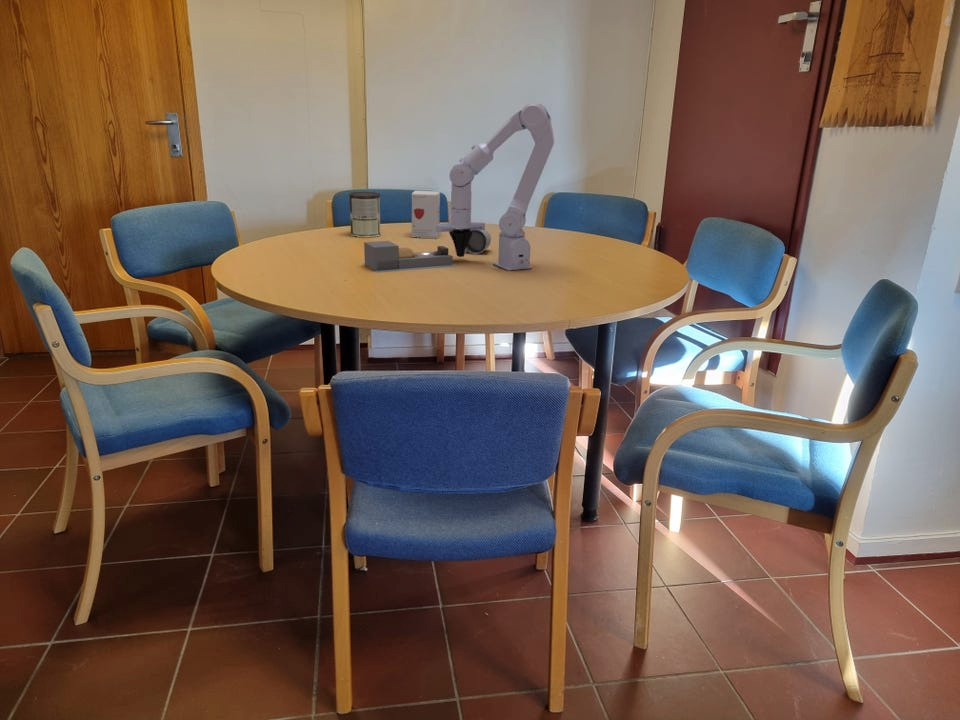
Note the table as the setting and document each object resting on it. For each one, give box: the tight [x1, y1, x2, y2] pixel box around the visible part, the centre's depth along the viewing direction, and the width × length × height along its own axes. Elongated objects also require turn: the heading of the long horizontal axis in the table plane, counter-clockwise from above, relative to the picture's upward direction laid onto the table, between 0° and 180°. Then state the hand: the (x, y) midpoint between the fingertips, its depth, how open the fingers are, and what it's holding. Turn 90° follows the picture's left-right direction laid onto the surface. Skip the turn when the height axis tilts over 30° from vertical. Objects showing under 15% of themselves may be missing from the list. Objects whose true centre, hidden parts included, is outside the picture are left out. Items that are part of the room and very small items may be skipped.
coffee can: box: [348, 191, 381, 238], centre depth 237 cm, size 10×10×14 cm
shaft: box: [413, 245, 449, 258], centre depth 196 cm, size 4×10×4 cm, turn 117°
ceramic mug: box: [465, 229, 492, 255], centre depth 216 cm, size 11×8×8 cm
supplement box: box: [411, 190, 441, 239], centre depth 239 cm, size 9×9×15 cm
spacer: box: [399, 247, 414, 259], centre depth 193 cm, size 4×4×4 cm
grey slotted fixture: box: [362, 240, 459, 274], centre depth 193 cm, size 12×24×7 cm, turn 117°
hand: (460, 256), depth 201 cm, fingers closed
